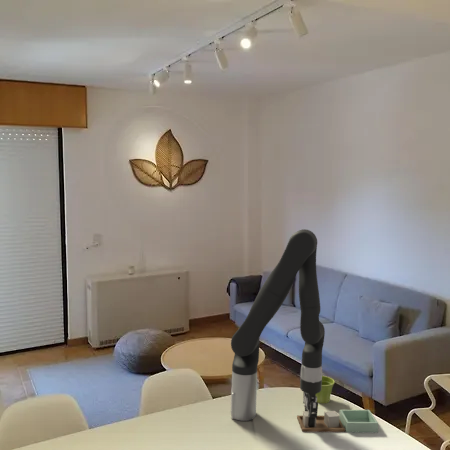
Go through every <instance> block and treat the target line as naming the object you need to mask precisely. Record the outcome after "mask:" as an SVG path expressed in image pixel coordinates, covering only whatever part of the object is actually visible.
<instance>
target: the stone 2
mask: <svg viewBox="0 0 450 450" xmlns="http://www.w3.org/2000/svg"><path fill="white" fill-rule="evenodd" d="M323 416H324V423H325V424H326V425H327V427H328V428H331V427H339V414H338V412H337V411H336V410H327V411H324V413H323Z"/></svg>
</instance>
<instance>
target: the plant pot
mask: <svg viewBox="0 0 450 450" xmlns="http://www.w3.org/2000/svg"><path fill="white" fill-rule="evenodd" d="M334 385H335V380H334V378H331V377H329V376H325V375H322V389H321V391H320V392H319V393H317V394H316V396H317V402H318V404H328V403H330V399H331V394H332V391H333V387H334Z"/></svg>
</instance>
